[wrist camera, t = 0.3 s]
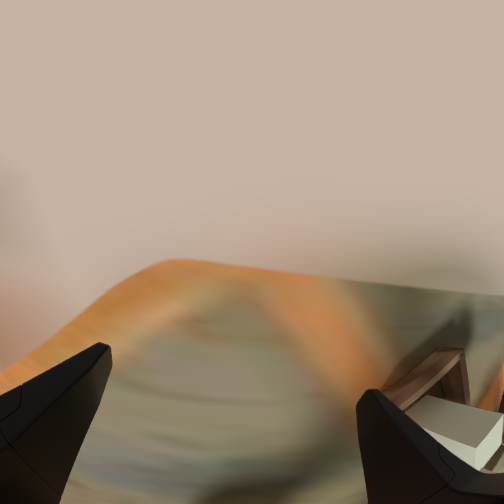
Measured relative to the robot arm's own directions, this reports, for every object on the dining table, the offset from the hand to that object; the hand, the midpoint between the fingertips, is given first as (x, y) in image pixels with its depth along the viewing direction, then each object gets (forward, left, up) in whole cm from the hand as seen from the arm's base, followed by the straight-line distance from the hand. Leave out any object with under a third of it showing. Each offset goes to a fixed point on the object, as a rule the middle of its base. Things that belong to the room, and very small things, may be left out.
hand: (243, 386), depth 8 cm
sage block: (-19, -16, -15) cm, 29 cm away
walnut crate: (-19, -16, -15) cm, 29 cm away
